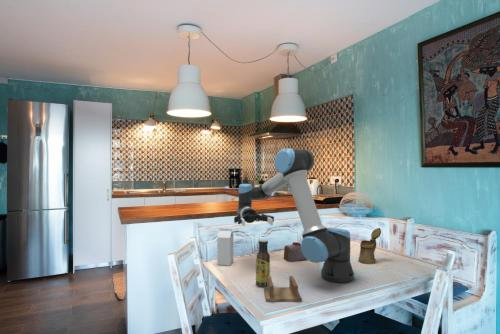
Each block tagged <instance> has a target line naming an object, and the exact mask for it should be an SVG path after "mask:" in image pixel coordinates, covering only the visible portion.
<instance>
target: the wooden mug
mask: <svg viewBox="0 0 500 334" xmlns="http://www.w3.org/2000/svg"><path fill="white" fill-rule="evenodd" d="M381 233H382V229H381V228H380V227H379V228H375V229H373V231H372V232H371V235H370V236H371V239H369V240H365V239H364V240H363V239H362V240H361V241H360V245H359V247H360V250H359V257H358V260H357V261H358V262H359V263H361V264H366V265H374V264H376V263H375V262H376V258H375V251H376V249H377V239H379V237H380V236H381ZM373 263H374V264H373Z"/></svg>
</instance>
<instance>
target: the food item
mask: <svg viewBox="0 0 500 334" xmlns="http://www.w3.org/2000/svg"><path fill="white" fill-rule="evenodd" d="M301 244H302V243H301V242H297V241H296V242H295V241H294V242H292V243H291V244H287V245H286V244H285V246H284V248H283V251H284V252H283V260H284V261H286V262H288V263H289V262H295V261H297V262H301V261H303V260H307V259H306V258H305V257H304V255H303V253H302V251H301Z"/></svg>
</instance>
